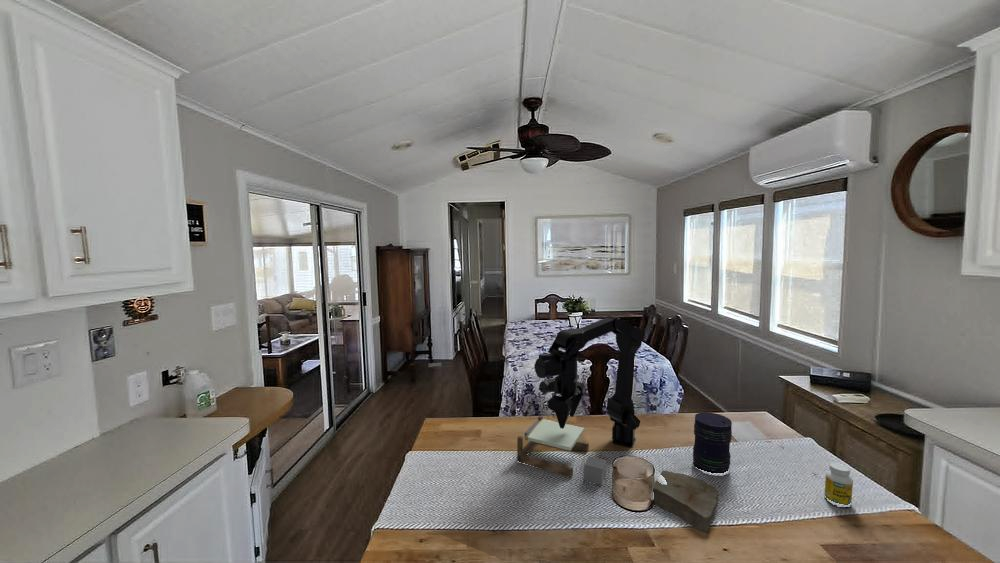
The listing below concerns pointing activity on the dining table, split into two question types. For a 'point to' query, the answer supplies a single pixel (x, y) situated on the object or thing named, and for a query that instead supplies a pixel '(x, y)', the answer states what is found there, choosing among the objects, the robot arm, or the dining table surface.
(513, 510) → the dining table surface
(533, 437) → the trapdoor
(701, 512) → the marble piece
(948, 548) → the dining table surface
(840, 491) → the supplement bottle
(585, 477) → the gray cube
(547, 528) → the dining table surface
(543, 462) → the frame
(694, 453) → the storage jar
